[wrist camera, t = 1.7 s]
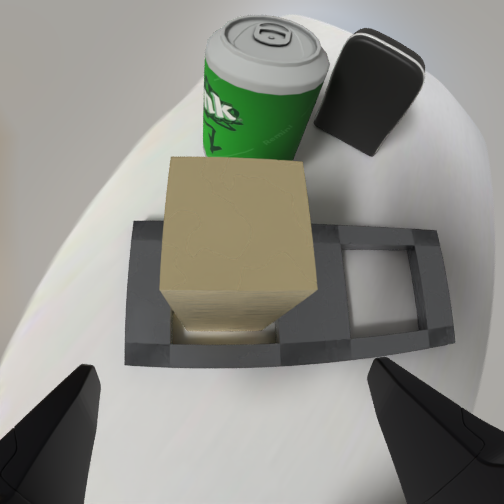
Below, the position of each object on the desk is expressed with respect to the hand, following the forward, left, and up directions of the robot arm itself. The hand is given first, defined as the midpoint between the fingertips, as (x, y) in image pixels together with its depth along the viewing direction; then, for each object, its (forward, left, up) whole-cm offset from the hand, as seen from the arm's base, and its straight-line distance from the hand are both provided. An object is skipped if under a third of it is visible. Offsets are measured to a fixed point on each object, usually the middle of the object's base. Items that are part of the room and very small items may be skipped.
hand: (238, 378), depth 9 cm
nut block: (+5, 0, -12) cm, 13 cm away
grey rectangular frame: (+5, -6, -12) cm, 14 cm away
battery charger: (+21, -12, -12) cm, 27 cm away
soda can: (+17, -2, -12) cm, 21 cm away
